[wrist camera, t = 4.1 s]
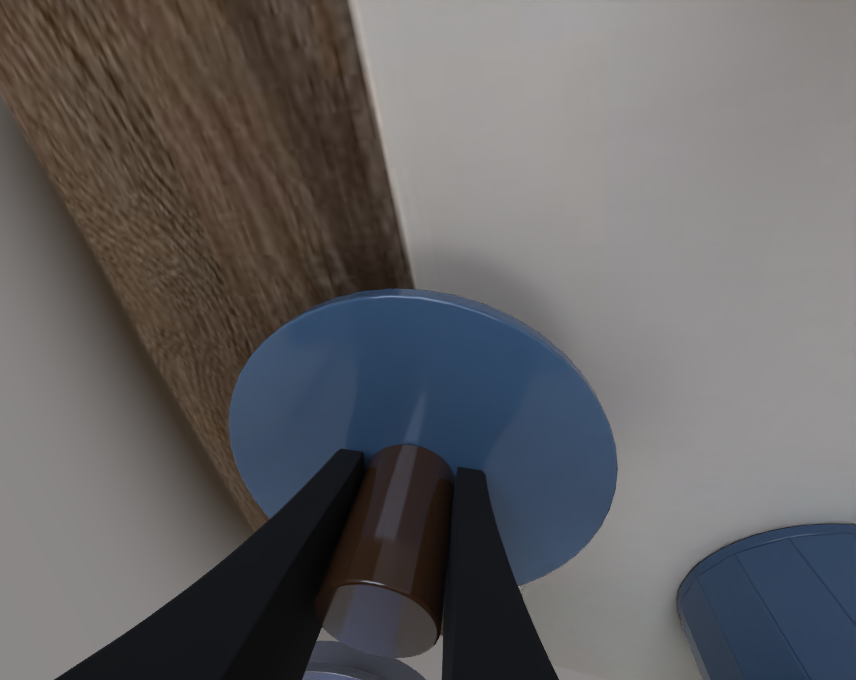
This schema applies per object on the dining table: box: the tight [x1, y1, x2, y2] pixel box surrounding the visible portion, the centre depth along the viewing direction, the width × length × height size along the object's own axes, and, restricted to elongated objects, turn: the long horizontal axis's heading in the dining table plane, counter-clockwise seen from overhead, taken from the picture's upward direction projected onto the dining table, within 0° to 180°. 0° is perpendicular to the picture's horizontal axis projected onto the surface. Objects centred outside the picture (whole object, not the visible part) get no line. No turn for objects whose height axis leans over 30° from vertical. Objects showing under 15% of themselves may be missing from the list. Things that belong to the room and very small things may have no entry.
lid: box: [229, 289, 618, 658], centre depth 9 cm, size 10×10×5 cm
